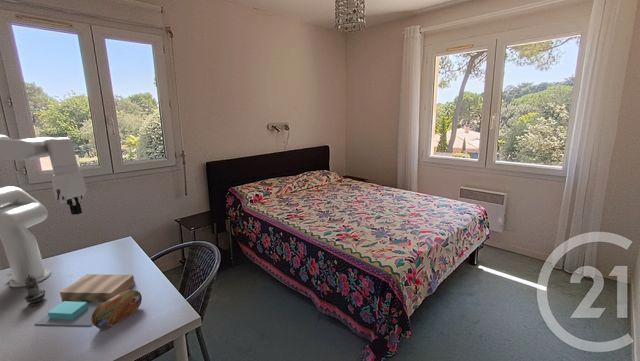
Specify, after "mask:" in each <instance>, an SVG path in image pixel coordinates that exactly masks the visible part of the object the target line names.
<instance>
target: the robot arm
mask: <svg viewBox="0 0 640 361" xmlns="http://www.w3.org/2000/svg"><path fill="white" fill-rule="evenodd" d="M72 140H73V139H71V138H70V137H66V136H65V137H50V136H41V137H32V138H23V139H12V138H10V137H9V136H8V135H5V134H0V159H1V160H6V161H7V160H8V161H30V160H31V161H32V160H36V159H41V158H49V159H50V164H51V168H52V171H53V175H51V182H52V183H51V185H52V192H53V196H54V199H55V200H57V201H58V203H59V204H63V205H64V204H65V205H67V206H68V207H69V209H70V210H69V211H70V213H71V215H80V214H82V213H83V211H82V206H81V203H82V199H83V198H85V197H86V196H87V194H86V193H87V186H86V181H85V180H84V177H83V174H82V172H81V170H79V168H80V165H79V164H78V160H77V156H76V152H75V148H74V143H73V141H72ZM48 216H49V211H48V209H47V208H46V206H44V204H43V203H41V202H40V201H39V200H37V199H36V198H34V197H33V196H32V195H30V194H29V193H28V192H27V191H25V190H24V189H23V188H20V187H17V186H12V185H7V186H2V187H0V241H1V243H2V246H3V249H4V251H5V254H6V255H5V256H6V258H7V261H8V262H7V263H8V265H9V268H10V272H8V273H7V275H6V276H7V277H11V278H12V279H11V280H10V281H9V286H10V287H11V288H22V287H26V283H25V279H26V278H27V277H28V275H30V276H35V278H36V281H37V283H40V282H42V281H44V280H46V279H47V278H48V277H50V276H51V275H52V270H50V269H49V268H45V265H44V261H43V258H42V254H41V252H40V248H39V244H38V240H37V238H36V236H35V235H34V233H31V231H30V230H28V229H29V228H31V227H33V226H35V225H38V224H40V223H42V222H44V221H45V220H46V219H47V218H48Z"/></svg>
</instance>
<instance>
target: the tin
mask: <svg viewBox="0 0 640 361" xmlns="http://www.w3.org/2000/svg"><path fill="white" fill-rule="evenodd" d="M101 303H102V304H100V305H99V306H98V307H97V308H96V309H95V310H94V312H93V314H92V323H93V325H92V326H94V327H95V328H98V329H99V330H107V329H110V328H112V327H114V326H115V325H117V324H118V323H120V322H122V321H123V320H125V319H126V318H127V317H129V316H131V315H132V314H134V313H135V312H137V310H138V309H139V308H140V306H141V304H142V294H141V292H140V291H138V290H136V289H128V290H125V291H123V292H121V293H120V294H118V295H116V296H114V297H113V298H111V299H109V300H107V301H105V302H101Z"/></svg>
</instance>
